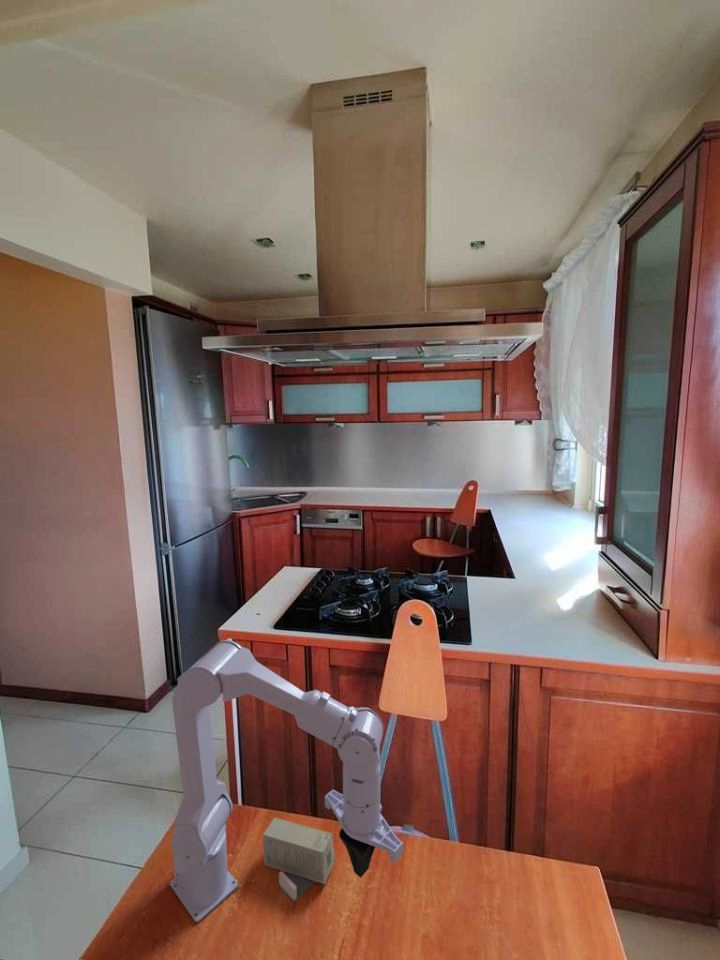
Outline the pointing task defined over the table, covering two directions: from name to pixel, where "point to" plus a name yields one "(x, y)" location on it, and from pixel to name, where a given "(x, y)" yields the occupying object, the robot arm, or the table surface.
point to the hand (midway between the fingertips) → (361, 870)
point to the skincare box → (299, 850)
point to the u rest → (294, 884)
